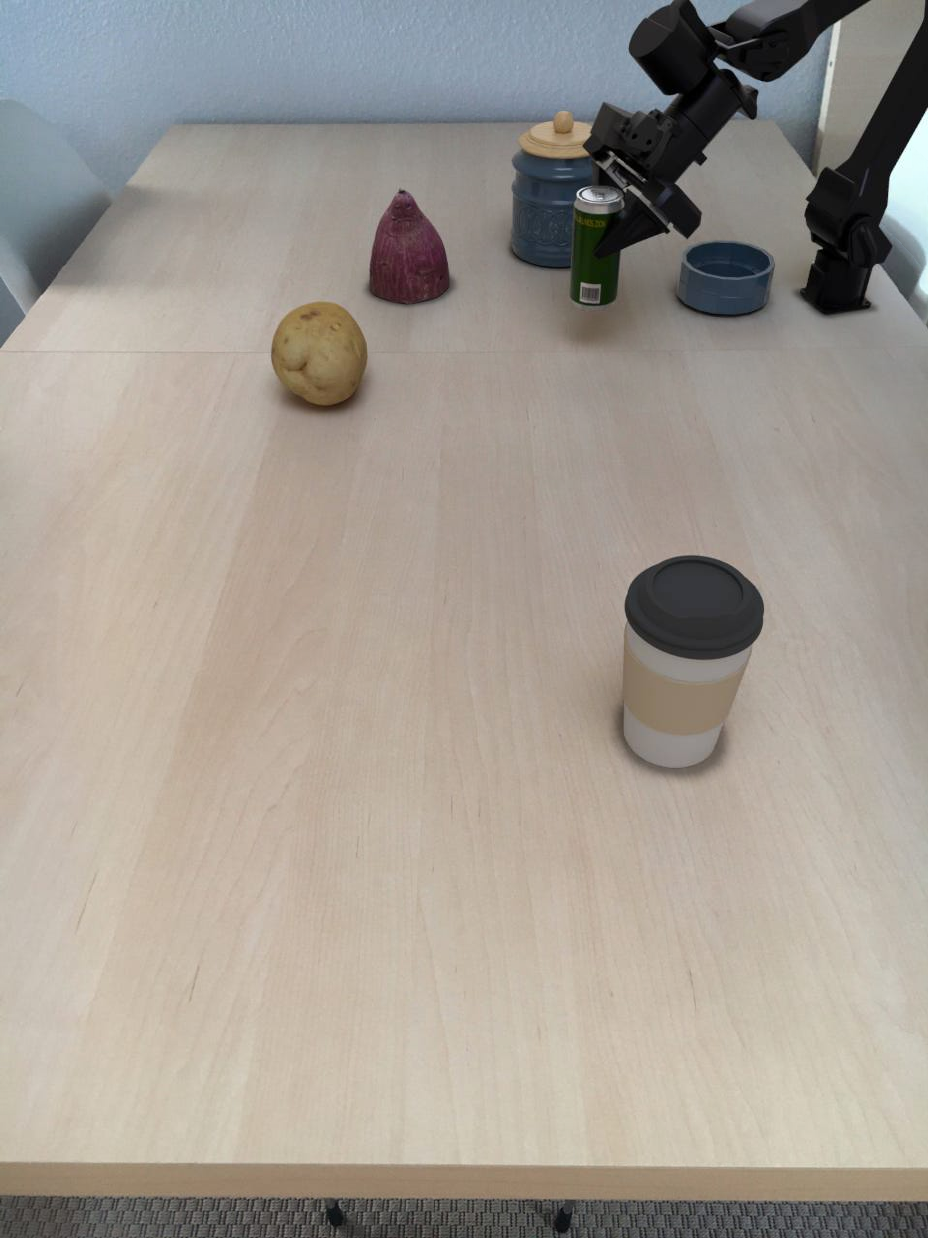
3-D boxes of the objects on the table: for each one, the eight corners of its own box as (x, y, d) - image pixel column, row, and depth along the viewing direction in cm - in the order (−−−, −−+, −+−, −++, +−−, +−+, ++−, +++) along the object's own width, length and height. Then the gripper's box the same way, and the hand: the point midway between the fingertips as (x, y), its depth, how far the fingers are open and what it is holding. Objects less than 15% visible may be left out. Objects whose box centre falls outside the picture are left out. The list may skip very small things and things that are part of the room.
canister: (496, 261, 134) (497, 121, 122) (528, 224, 143) (532, 91, 131) (589, 275, 130) (599, 133, 118) (616, 237, 139) (628, 100, 127)
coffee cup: (599, 692, 77) (615, 542, 67) (713, 683, 78) (747, 533, 67) (622, 785, 71) (644, 636, 60) (746, 775, 71) (790, 625, 61)
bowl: (741, 273, 130) (748, 235, 127) (783, 310, 122) (791, 271, 119) (662, 284, 128) (667, 246, 125) (699, 323, 120) (705, 284, 117)
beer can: (617, 312, 111) (626, 204, 102) (568, 311, 111) (574, 203, 103) (616, 290, 114) (624, 184, 106) (569, 290, 115) (574, 184, 107)
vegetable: (438, 327, 128) (443, 228, 115) (360, 311, 128) (356, 211, 115) (456, 273, 133) (463, 173, 120) (382, 258, 134) (380, 157, 121)
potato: (374, 362, 115) (366, 279, 108) (366, 421, 106) (358, 335, 99) (286, 364, 115) (273, 281, 108) (271, 423, 106) (256, 337, 99)
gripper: (604, 47, 104) (506, 171, 109) (689, 98, 91) (572, 236, 96) (664, 117, 111) (569, 230, 116) (750, 174, 98) (638, 298, 103)
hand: (584, 246), depth 108 cm, fingers closed on beer can, 5 cm apart
